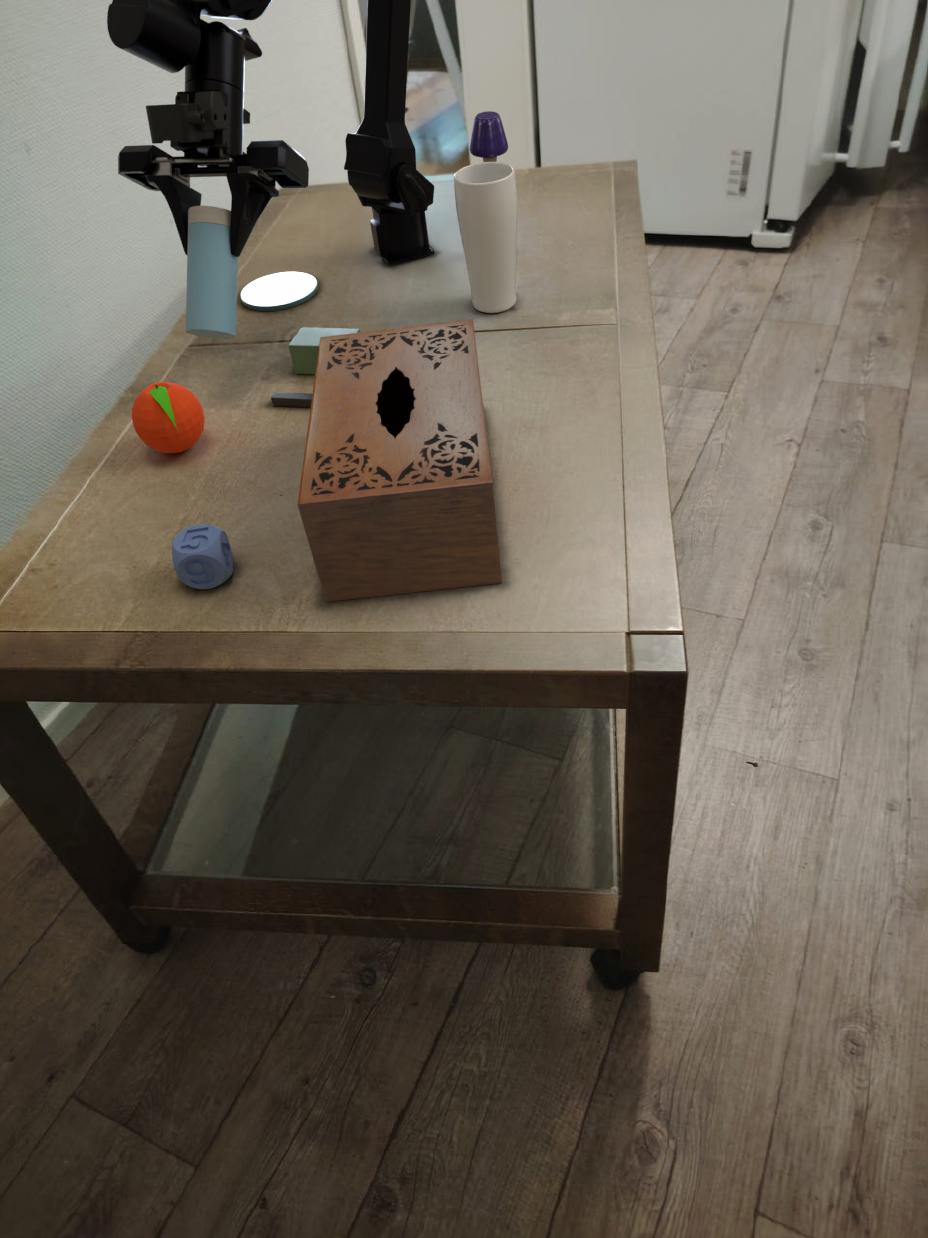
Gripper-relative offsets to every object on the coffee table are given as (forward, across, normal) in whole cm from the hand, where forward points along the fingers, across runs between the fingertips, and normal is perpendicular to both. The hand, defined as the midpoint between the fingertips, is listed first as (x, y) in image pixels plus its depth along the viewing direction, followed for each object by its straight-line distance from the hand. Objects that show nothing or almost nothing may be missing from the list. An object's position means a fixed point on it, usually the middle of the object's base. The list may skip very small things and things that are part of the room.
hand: (211, 255), depth 92 cm
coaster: (-1, -4, +24) cm, 24 cm away
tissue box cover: (+23, +26, -8) cm, 35 cm away
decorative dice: (+30, +11, -18) cm, 37 cm away
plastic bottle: (+6, 0, +4) cm, 7 cm away
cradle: (+11, +9, +7) cm, 16 cm away
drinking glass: (0, +24, +23) cm, 33 cm away
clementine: (+20, -1, -4) cm, 20 cm away
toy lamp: (-8, +21, +34) cm, 41 cm away
